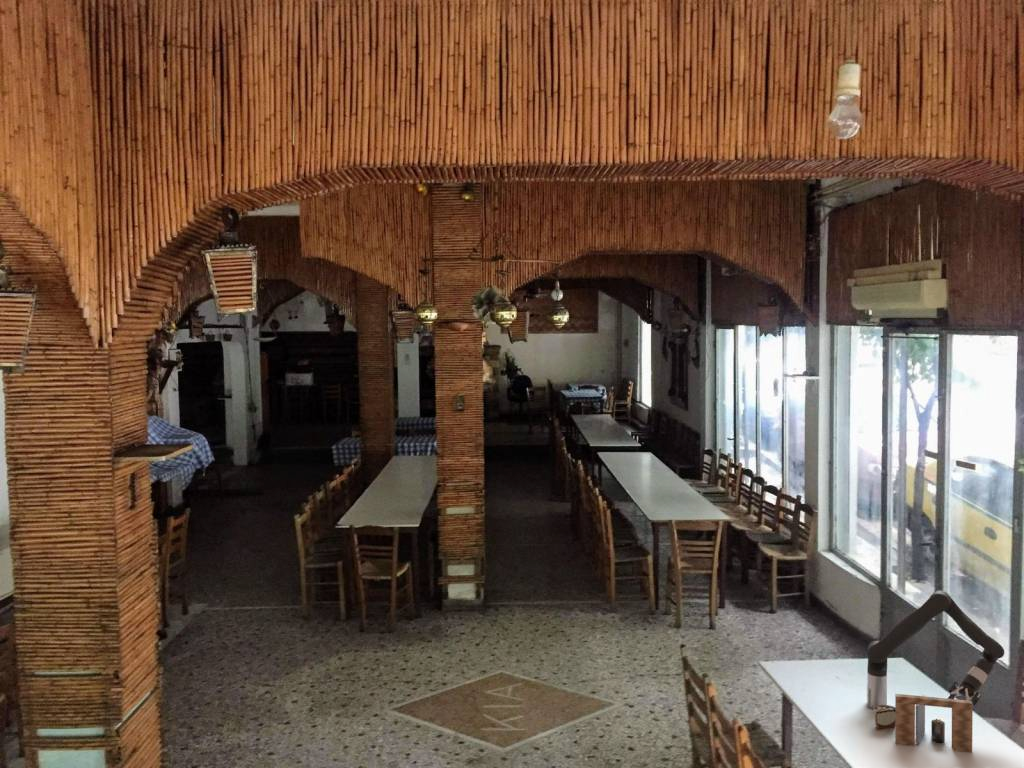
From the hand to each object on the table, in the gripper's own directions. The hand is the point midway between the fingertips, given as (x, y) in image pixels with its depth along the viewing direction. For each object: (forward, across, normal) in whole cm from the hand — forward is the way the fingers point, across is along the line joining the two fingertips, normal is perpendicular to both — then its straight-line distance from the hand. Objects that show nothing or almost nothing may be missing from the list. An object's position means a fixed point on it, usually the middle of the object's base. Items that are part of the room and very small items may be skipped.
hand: (955, 705), depth 402 cm
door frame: (+23, +4, -1) cm, 23 cm away
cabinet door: (+22, -5, -1) cm, 23 cm away
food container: (+28, -21, -6) cm, 35 cm away
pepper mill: (+18, 0, +4) cm, 19 cm away
